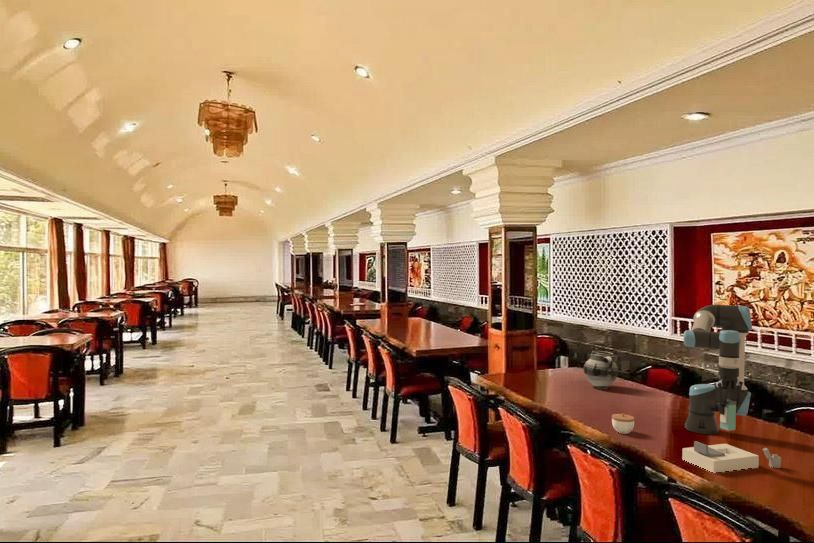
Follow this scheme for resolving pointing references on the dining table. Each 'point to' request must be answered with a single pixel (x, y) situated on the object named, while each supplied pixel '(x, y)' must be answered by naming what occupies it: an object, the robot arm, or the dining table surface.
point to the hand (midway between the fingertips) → (727, 421)
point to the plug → (730, 416)
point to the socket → (722, 459)
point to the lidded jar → (623, 423)
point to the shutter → (706, 450)
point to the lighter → (772, 459)
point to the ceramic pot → (601, 369)
